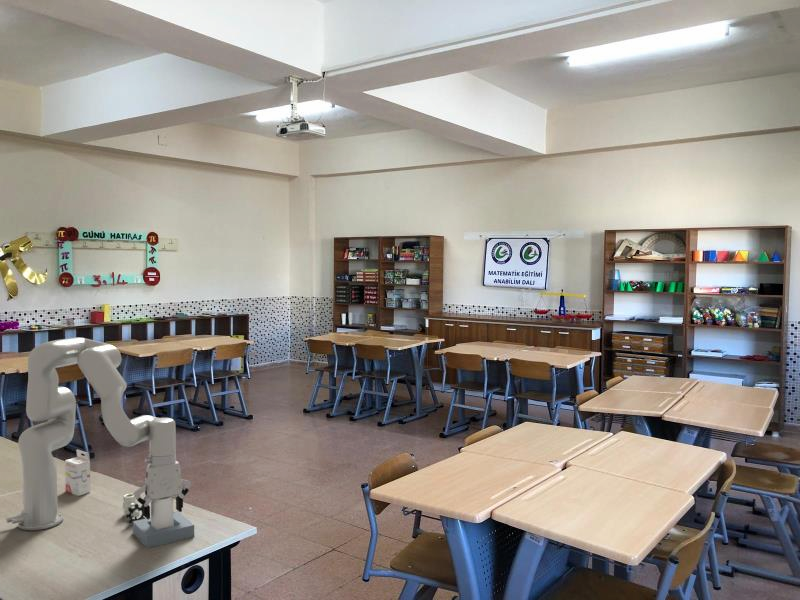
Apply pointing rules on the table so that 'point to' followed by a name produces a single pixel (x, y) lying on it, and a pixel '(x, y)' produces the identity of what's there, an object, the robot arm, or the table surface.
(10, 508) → the table surface
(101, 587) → the table surface
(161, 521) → the can
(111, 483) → the table surface
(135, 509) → the valve
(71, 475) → the ink cartridge box
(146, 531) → the socket block
